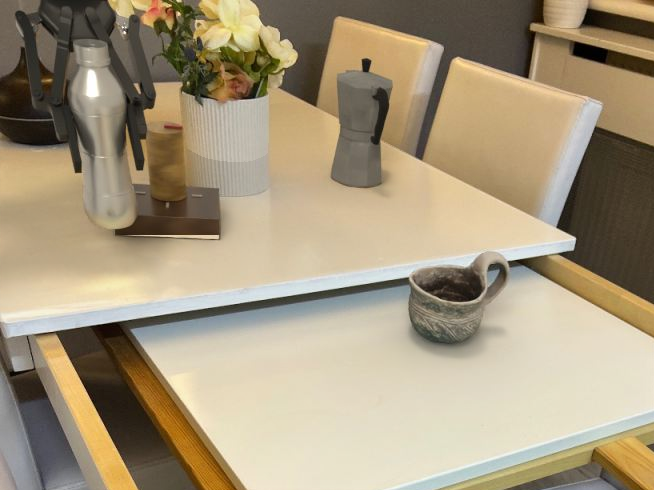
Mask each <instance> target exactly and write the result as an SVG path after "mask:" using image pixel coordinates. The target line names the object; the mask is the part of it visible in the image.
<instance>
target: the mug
mask: <svg viewBox="0 0 654 490" xmlns="http://www.w3.org/2000/svg"><path fill="white" fill-rule="evenodd" d="M492 264H498V265H499V271H498V274H497V275H496V277H495V279H494V281H493V282H492V283H491V284H490V285H489V286H488V284H489V283H488V278H487V275H488V274H487V273H488V269H489V267H490V266H491V265H492ZM510 275H511V269H510V265H509V262H508V260H507V258H506V257H505V256H504V255H503V254H501V253H500V252H498V251H493V250H491V251H489V250H488V251H484V252H481V253H480V254H478V255H477V256H476V257H475V259H474V260H473V261H472V262H471V263H470V264H469V265H468V266H464V265H458V264H437V265H426V266H423V267H420V268H416V269H414V270H413V271H412V272H411V273H410V274H409V276H408V283H409V287H410V293H409V297H408V303H407V304H408V305H407V307H408V308H407V309H408V317H409V321H410V323H411V326H412V327H413V329H414V330H415V331H416V332H417V333H419V335H420V336H422V337H424V338H426V339H428V340H430V341H433V342H437V343H448V344H449V343H459V342H463V341H465V340H467V339H469V338H470V337H471V336H473V334H475V333H476V331H477V330H478V329H479V327H480V326H481V323H482V321H483V318H484V311H485V308H486V306H488V305H489V304H490V303H491V302H492V301H494V300H495V299H496V298H497V297H498V296H499V294H501V292H502V291H504V289H505V287H506V286H507V284H508V282H509V280H510V277H511V276H510Z"/></svg>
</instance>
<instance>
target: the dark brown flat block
mask: <svg viewBox="0 0 654 490" xmlns="http://www.w3.org/2000/svg"><path fill="white" fill-rule="evenodd" d="M132 185H133V187H134V190H135V194H136V198H137V202H138V212H137V217H136V219H135V221H134V223H133V224H132V225H130V226H128V227H125V228H121V229H113V230H114V236H116V235H220V236H221V221H220V220H221V216H220V215H221V210H220V209H221V208H220V207H221V205H220V188H219V187H203V186H187V185H186V188H187V196H186V198H184V199H182V200H179V201H161V200H158V199H155V198H153V197H152V196H151V194H150V183H149V184H148V183H132ZM116 237H117V236H116Z"/></svg>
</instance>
